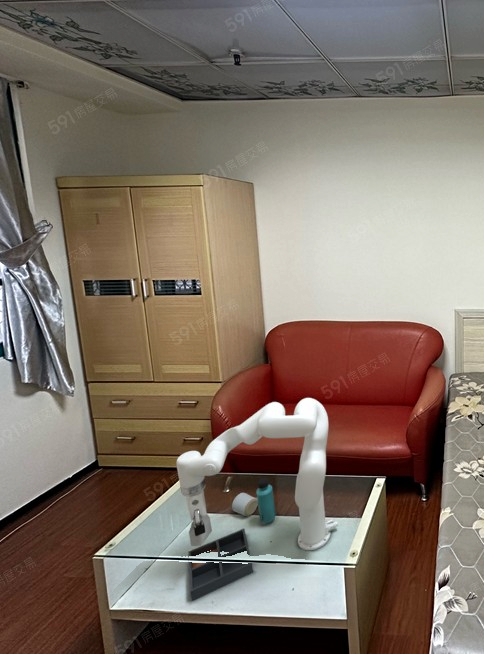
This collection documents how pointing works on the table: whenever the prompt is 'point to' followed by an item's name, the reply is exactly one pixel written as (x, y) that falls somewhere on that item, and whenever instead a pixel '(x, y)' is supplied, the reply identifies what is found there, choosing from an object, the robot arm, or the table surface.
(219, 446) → the robot arm
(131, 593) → the table surface
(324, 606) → the table surface
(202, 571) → the tray
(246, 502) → the ceramic mug
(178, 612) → the table surface
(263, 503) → the beverage bottle
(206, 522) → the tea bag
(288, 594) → the table surface
